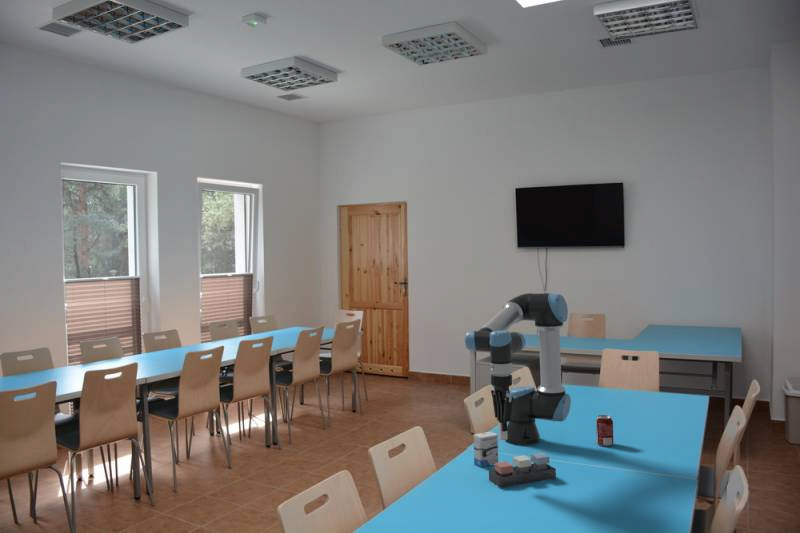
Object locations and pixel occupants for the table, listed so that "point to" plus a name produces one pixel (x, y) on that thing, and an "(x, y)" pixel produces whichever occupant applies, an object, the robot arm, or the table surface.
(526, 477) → the console
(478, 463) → the ink box
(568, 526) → the table surface
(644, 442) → the table surface
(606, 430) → the soda can
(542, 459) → the key slate
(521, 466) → the key white
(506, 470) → the key brick
